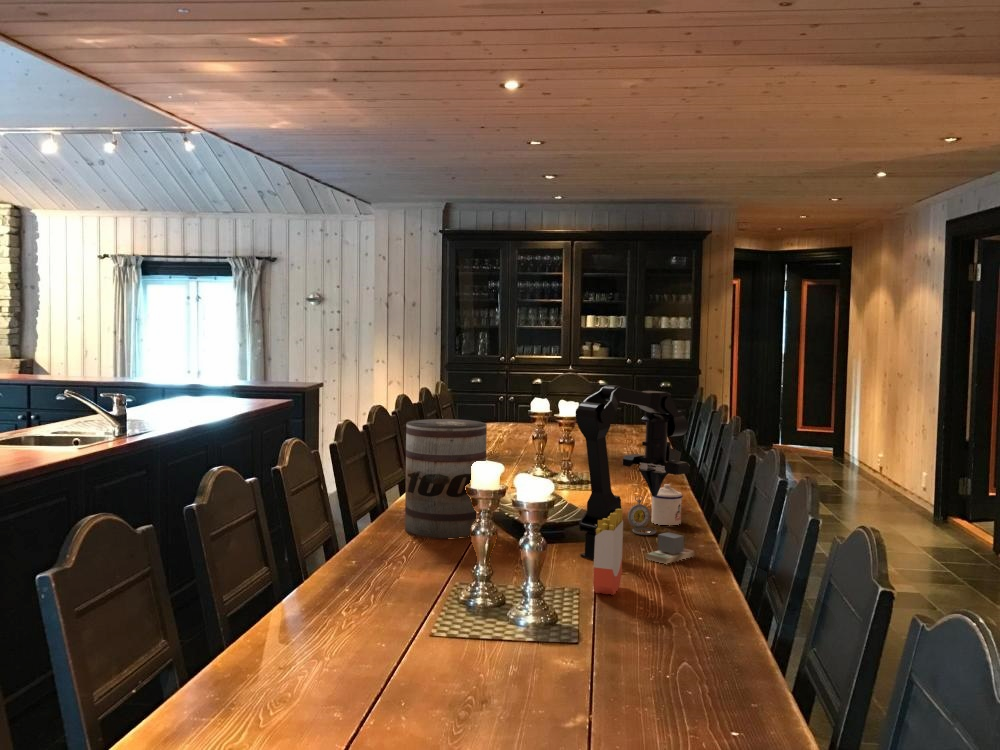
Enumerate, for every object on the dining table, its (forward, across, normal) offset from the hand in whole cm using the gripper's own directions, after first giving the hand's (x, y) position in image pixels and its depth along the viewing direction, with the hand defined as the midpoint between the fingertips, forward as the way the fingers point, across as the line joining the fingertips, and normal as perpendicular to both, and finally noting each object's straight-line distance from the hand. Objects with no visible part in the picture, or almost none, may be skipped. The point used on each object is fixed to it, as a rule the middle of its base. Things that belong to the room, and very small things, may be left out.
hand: (654, 495), depth 237 cm
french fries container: (+13, -20, +41) cm, 47 cm away
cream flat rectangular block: (+13, -12, +8) cm, 19 cm away
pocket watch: (+13, +10, -8) cm, 19 cm away
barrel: (+13, +46, +35) cm, 59 cm away
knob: (+11, -12, +8) cm, 18 cm away
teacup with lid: (+13, +14, -24) cm, 30 cm away
